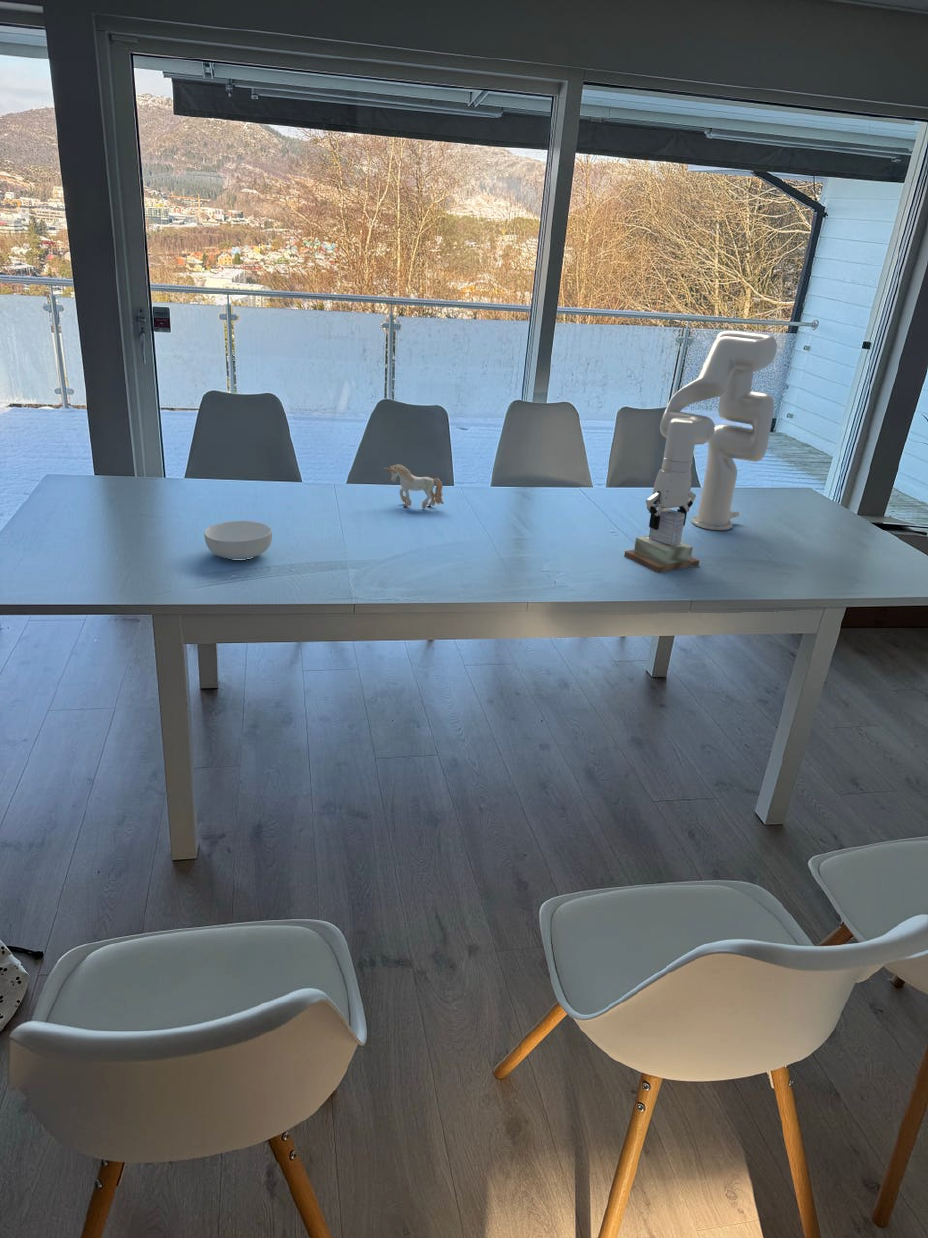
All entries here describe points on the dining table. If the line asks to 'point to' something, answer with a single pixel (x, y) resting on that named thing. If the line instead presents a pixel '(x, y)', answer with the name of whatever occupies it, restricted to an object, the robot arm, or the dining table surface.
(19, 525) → the dining table surface
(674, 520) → the medicine box
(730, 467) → the robot arm
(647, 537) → the base board
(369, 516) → the dining table surface
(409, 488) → the unicorn figurine
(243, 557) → the cereal bowl
